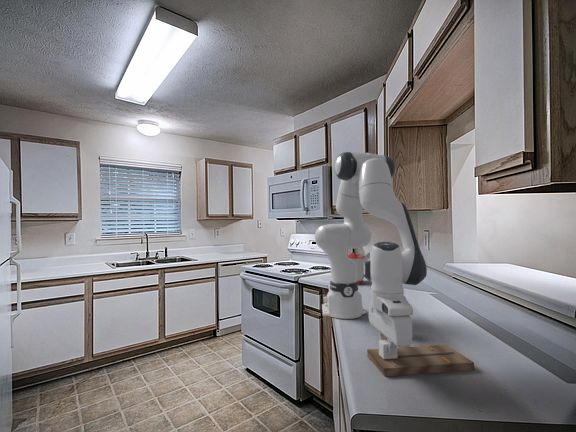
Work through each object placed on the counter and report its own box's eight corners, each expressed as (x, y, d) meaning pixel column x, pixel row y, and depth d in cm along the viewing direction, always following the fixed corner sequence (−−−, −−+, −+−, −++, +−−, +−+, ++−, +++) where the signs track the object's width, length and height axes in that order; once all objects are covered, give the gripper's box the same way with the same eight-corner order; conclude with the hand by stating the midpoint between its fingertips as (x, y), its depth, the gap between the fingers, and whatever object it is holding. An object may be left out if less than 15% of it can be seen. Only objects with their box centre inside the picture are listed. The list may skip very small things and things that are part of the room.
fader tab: (383, 359, 84) (383, 344, 84) (379, 354, 87) (378, 340, 87) (397, 358, 84) (397, 343, 85) (392, 353, 87) (392, 339, 88)
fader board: (384, 376, 79) (384, 367, 79) (367, 356, 91) (367, 348, 91) (474, 369, 82) (473, 361, 82) (446, 351, 94) (445, 343, 94)
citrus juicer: (367, 286, 189) (366, 253, 189) (339, 284, 194) (338, 253, 195) (368, 281, 204) (368, 251, 204) (342, 280, 209) (342, 250, 210)
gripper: (363, 292, 96) (363, 337, 96) (392, 311, 76) (393, 368, 75) (382, 291, 97) (383, 336, 96) (416, 310, 76) (417, 366, 76)
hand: (388, 350), depth 86 cm, fingers closed on fader tab, 3 cm apart
